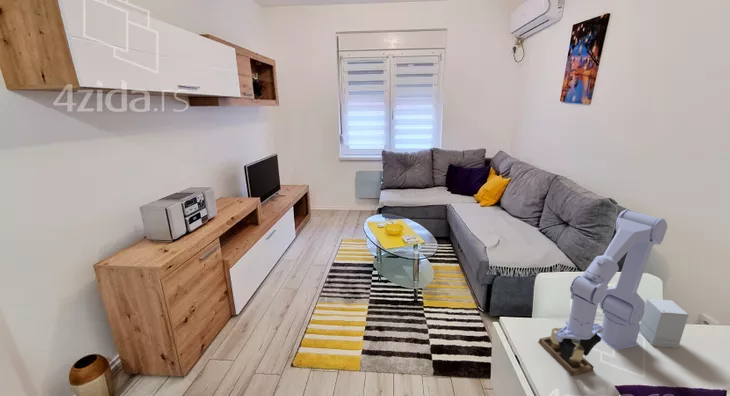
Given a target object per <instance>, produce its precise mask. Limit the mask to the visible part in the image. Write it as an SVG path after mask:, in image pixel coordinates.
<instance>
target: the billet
mask: <svg viewBox="0 0 730 396" xmlns="http://www.w3.org/2000/svg"><path fill="white" fill-rule="evenodd" d="M573 343H574V342H573ZM574 344H575V345H576V347H575V348H574V349H573V351H572V353H571V356H570V359H569V360H566V359H565V361H566V362H567V363H568V364H569V365H570V366H571V367H572V368H573V369H574V368H578V367H581V363H582V358H584V348H583V347H582V346H581V345H580V343H574Z"/></svg>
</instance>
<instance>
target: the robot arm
mask: <svg viewBox="0 0 730 396" xmlns="http://www.w3.org/2000/svg"><path fill="white" fill-rule="evenodd" d="M667 230H668V223H667V221H666V219H665V218H662V217H661V218H660V217H656V216H652V215H649V214H648V215H647V214H644V213H640V212H635V211H632V210H630V209H623V210H622V211H621V212H620V213H618V215H617V218H616V220H615V231H616V232H615V234H614V237H613V238H612V239H611V241H610V243H609V245H608V247H607V248H606V250H605V252H603V255H597V256H596V257H594V259H593V260H592V261H591V263H590V264H589V265H588V267H587V268H586V270H585V271H584V272H583V273H582V275H577V276H576V277H574V279H573V280H572V282H571V285H570V286H569V291H570V299H571V301H572V302H571V306H570V313H569V317H568V320H566V321H565V324H566V325H564V327H561V328H562V329H561V330H559V331H557V332H555V335H554V338H555V339H556V340H558V342H559V345H560V349H561V355H562V356H563V357H564V358H565V359H566V360H569V359H570V356H571V353H572V351H573V349H574V348H575V347H576V345H575V344H574V343H573V342H572V340H571V339H580V342H579V345H581V346H582V347H583V348H584V354H583V356H585V357H587V356H588V355H589V354H590V353H591V351H592V349H593V348H594V347H595V346H596V345H597V344H598V343H600V342H601V341H603V342H604V343H605V344H606V345H607V346H609V347H610V348H612V349H613V350H614V351H618V350H622V349H628V348H632V347H637V346H639V345H640V344H639V343H638V342H637V340H638V337H639V332H640V331H639V330H640V323H641V319H642V318H643V315H644V308H645V304H646V301H645V300H644V299H643V298H642V297H641V296H640V295H639V294H638V290H639V289H638V288H639V286H640V284H641V280H642V277H643V275H644V271H645V269H646V266H647V262H648V259H649V258H650V255H651V251H652V249H653V247H654V245H662V242H663V241H664V238H665V235H666V232H667ZM624 256H626V257H625V259H624V263H623V266H622V269H621V271H620V275H619V278H618V280H617V284H616V286H611V287H609V286H608V284H609V283H610V282H611V280H612V279H613V278H614V276H615V275H616V274H617V272H618V271H619V269H620V268H619V265H618V262H620V261H621V259H622V258H623V257H624ZM598 305H599V306H598ZM598 307H599V308H600V309H601V310H602V314H604V315H603V320H602V323H601V324H599V323H598V322H596V323H595V319H596V315H597V309H598Z"/></svg>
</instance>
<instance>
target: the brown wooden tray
mask: <svg viewBox="0 0 730 396" xmlns="http://www.w3.org/2000/svg"><path fill="white" fill-rule="evenodd" d="M550 339H551V335H550V336H546V337H541V338H539V340H538V341H537V343H538V345H540V346H541V347H542V348H543V349H544V350H545V351H546V352H547V353H548V354H549V355H550V356H551V357H552V358H553V360H554V361H556V362H557V364H559V365H560V366H561V367H562V368H563V369H564V370H565V371H566V372H567V373H568V374H569V375H570V377H576V376H580V375H583V374H588V373H592V372H593V373H594V372H595V370H594V368H595V367H594V366H593V364H591V363H590V362H589V361H588V360H587V359H586V358H585V357H583V358H582V363H581V367H578V368H574V369H573V368H572V367H571V366H570V365H569V364H568V363H567V362H566V361H565V358H564V357H563V356H562V355H561V352H555V351H554V350H553V349H552V348H551V347H550V346H549V345H550Z"/></svg>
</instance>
